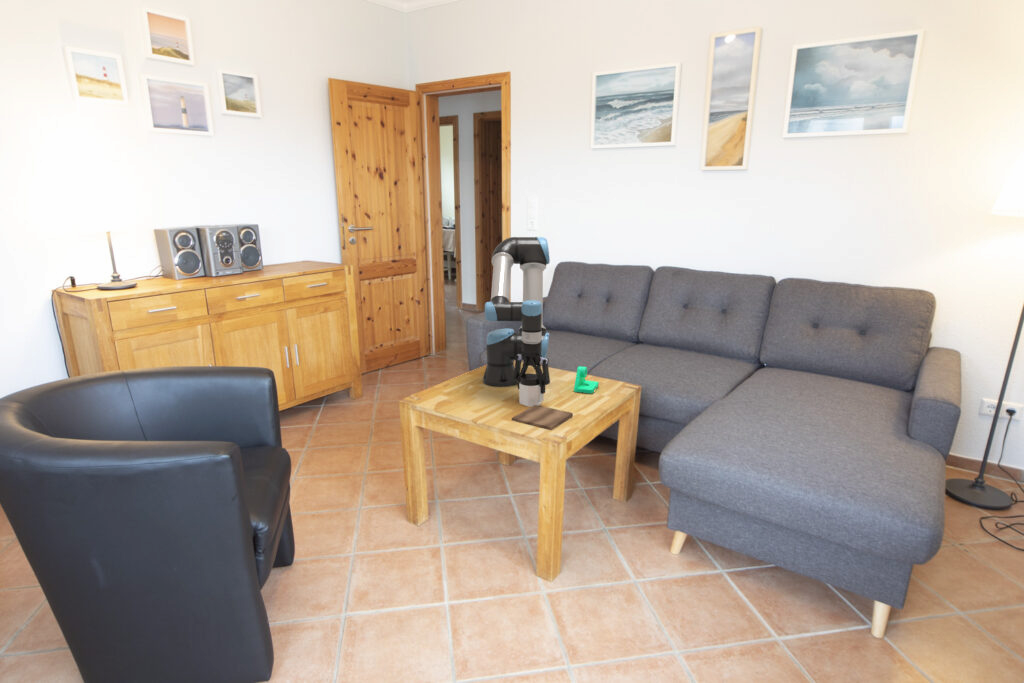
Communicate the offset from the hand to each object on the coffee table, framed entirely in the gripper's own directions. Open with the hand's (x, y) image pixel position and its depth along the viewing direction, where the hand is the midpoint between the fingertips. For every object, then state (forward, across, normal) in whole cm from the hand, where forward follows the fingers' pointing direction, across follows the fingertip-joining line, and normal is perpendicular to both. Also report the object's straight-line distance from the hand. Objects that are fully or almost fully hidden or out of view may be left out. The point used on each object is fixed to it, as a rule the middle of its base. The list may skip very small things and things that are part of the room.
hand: (531, 399), depth 216 cm
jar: (+3, 0, 0) cm, 3 cm away
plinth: (+3, +12, -12) cm, 17 cm away
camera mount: (+3, +10, +29) cm, 31 cm away
